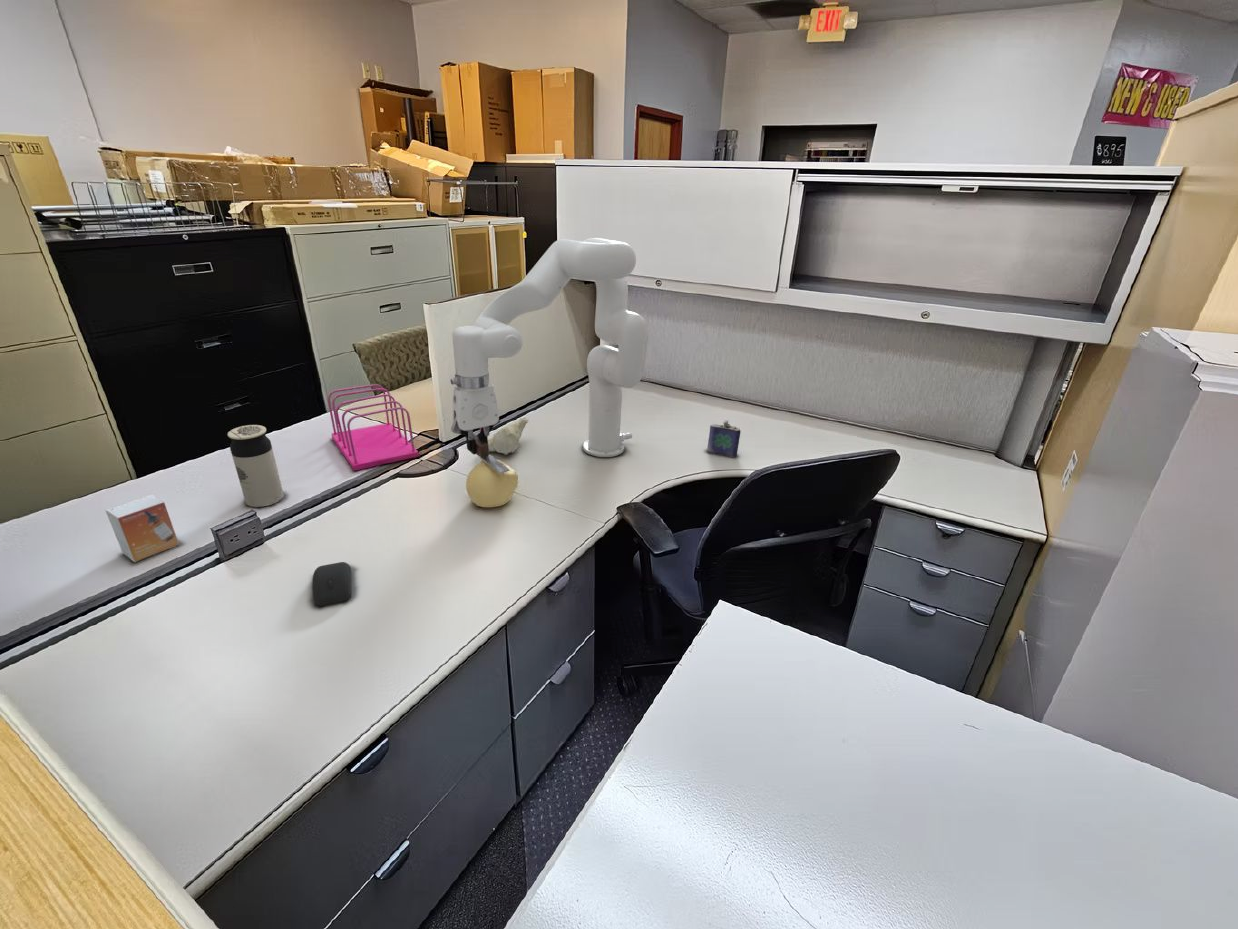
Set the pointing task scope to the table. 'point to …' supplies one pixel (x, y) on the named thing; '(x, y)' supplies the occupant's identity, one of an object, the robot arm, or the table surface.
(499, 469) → the knife
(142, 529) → the small box
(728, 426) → the flask
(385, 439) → the file sorter
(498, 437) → the white jagged rock
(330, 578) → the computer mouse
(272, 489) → the travel mug
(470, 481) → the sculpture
